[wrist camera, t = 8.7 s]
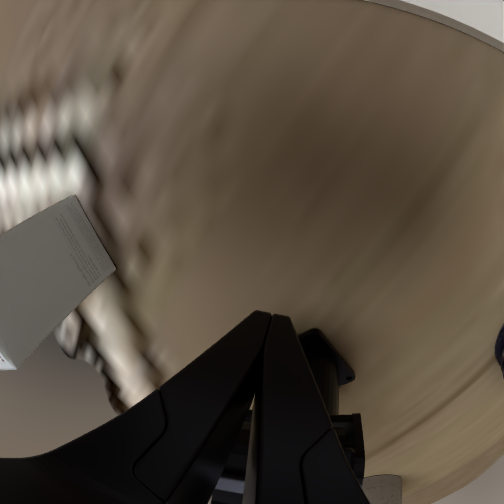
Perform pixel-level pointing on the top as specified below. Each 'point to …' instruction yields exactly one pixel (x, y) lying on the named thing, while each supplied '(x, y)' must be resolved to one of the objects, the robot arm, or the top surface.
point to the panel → (460, 16)
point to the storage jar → (500, 349)
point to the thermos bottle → (383, 489)
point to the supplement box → (46, 276)
